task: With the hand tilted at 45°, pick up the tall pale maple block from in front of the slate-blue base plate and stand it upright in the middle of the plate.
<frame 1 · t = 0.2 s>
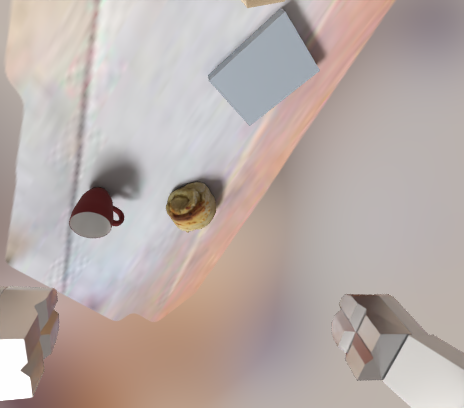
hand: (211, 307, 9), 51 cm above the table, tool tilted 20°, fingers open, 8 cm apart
mug: (104, 194, 70), on the table
pastry: (190, 201, 75), on the table
base plate: (261, 69, 55), on the table
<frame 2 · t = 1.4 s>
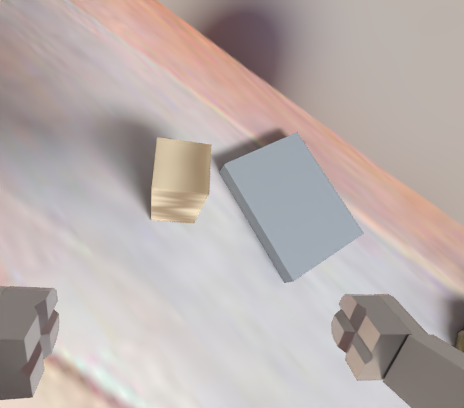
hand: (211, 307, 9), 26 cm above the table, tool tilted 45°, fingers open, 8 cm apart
maple block: (174, 201, 36), on the table
base plate: (285, 207, 40), on the table
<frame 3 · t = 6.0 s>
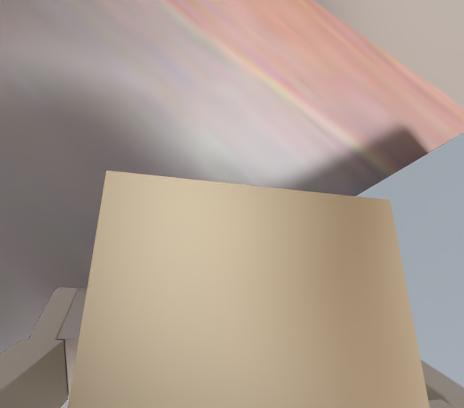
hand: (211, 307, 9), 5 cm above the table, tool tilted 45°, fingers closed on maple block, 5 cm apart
maple block: (189, 325, 13), on the table, touching gripper
base plate: (444, 306, 17), on the table
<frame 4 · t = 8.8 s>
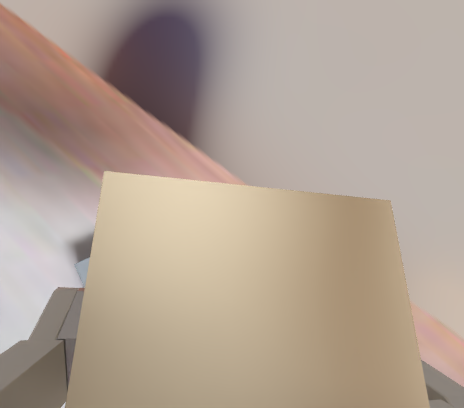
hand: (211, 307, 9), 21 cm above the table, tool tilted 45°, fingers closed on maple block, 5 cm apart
maple block: (189, 326, 13), point 16 cm above the table, touching gripper
when the fingers open (10 cm above the table, at t = 11.4 s): maple block drops 2 cm, resting on base plate.
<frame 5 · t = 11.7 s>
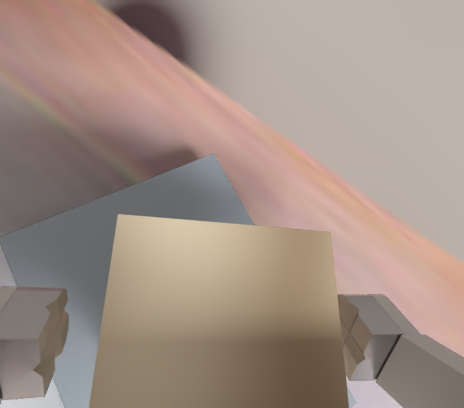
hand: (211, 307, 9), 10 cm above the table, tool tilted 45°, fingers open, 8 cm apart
maple block: (183, 325, 15), point 2 cm above the table, touching base plate
base plate: (180, 322, 18), on the table, touching maple block
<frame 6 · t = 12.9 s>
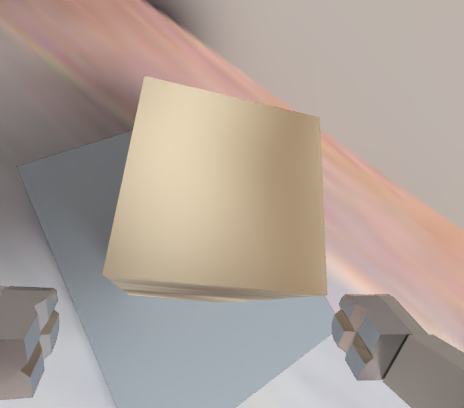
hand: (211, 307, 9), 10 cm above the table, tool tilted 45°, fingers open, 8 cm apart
maple block: (184, 251, 17), point 2 cm above the table
base plate: (181, 258, 19), on the table
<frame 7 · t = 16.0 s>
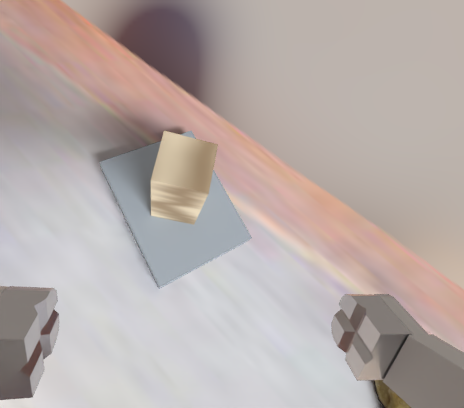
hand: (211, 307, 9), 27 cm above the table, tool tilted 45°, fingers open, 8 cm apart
pastry: (418, 395, 38), on the table
maple block: (177, 200, 36), point 2 cm above the table
base plate: (175, 208, 38), on the table
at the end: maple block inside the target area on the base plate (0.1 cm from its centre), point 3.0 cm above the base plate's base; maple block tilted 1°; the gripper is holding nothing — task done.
